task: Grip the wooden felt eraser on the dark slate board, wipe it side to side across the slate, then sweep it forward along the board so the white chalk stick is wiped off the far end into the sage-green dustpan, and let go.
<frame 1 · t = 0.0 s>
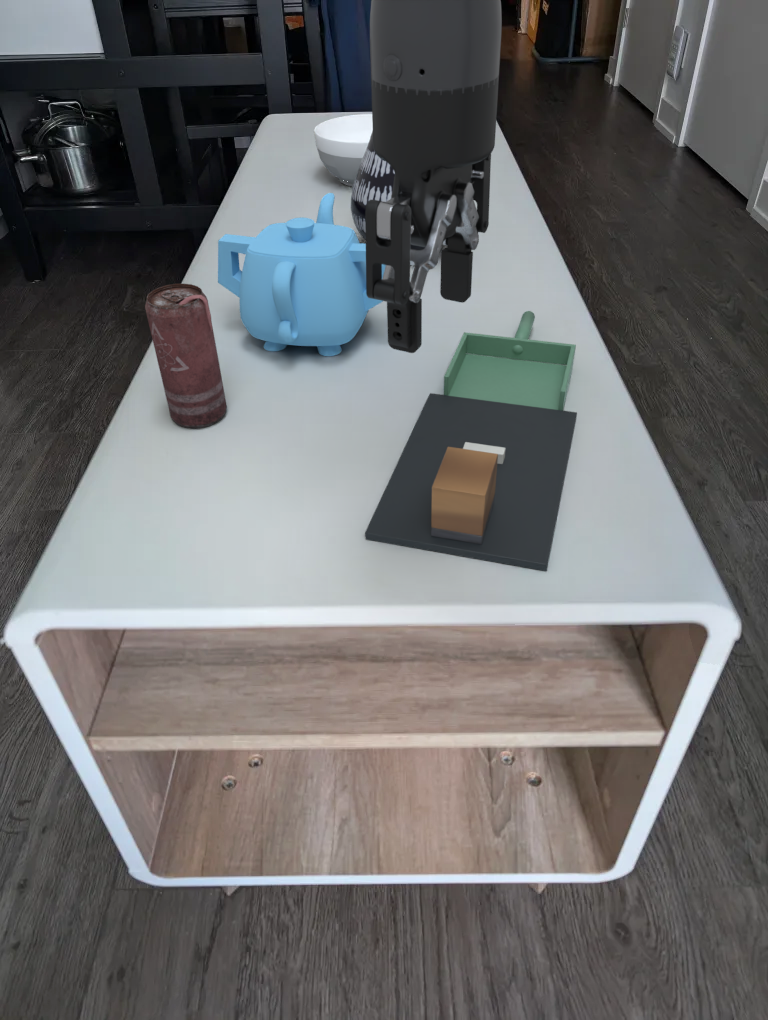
hand: (431, 322, 57), 21 cm above the table, tool pointing down, fingers open, 8 cm apart
vase: (405, 251, 121), on the table
eraser: (463, 518, 71), point 1 cm above the table, touching slate
teapot: (314, 330, 102), on the table
can: (201, 416, 87), on the table
dustpan: (509, 383, 90), on the table
bowl: (368, 179, 147), on the table
chalk: (483, 458, 78), point 1 cm above the table, touching slate
slate: (480, 473, 78), on the table
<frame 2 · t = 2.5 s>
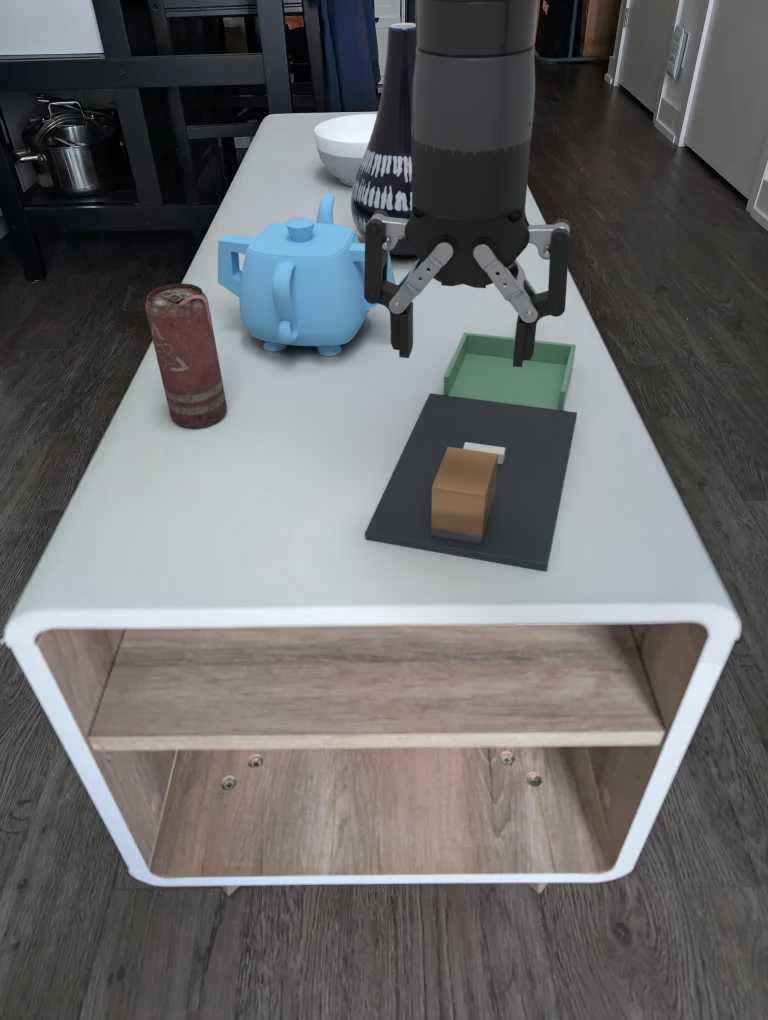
hand: (461, 357, 60), 17 cm above the table, tool pointing down, fingers open, 8 cm apart
nothing on the table moved.
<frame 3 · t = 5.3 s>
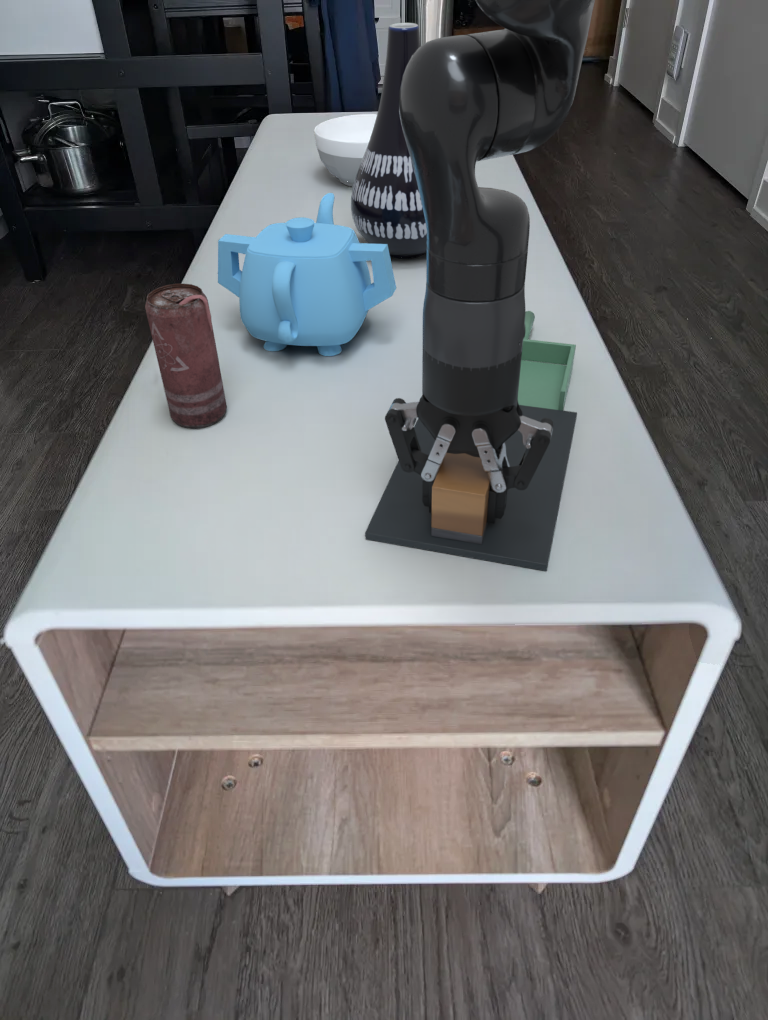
hand: (464, 511, 71), 2 cm above the table, tool pointing down, fingers closed on eraser, 4 cm apart
eraser: (463, 518, 71), point 1 cm above the table, touching gripper, slate
everything else where it was.
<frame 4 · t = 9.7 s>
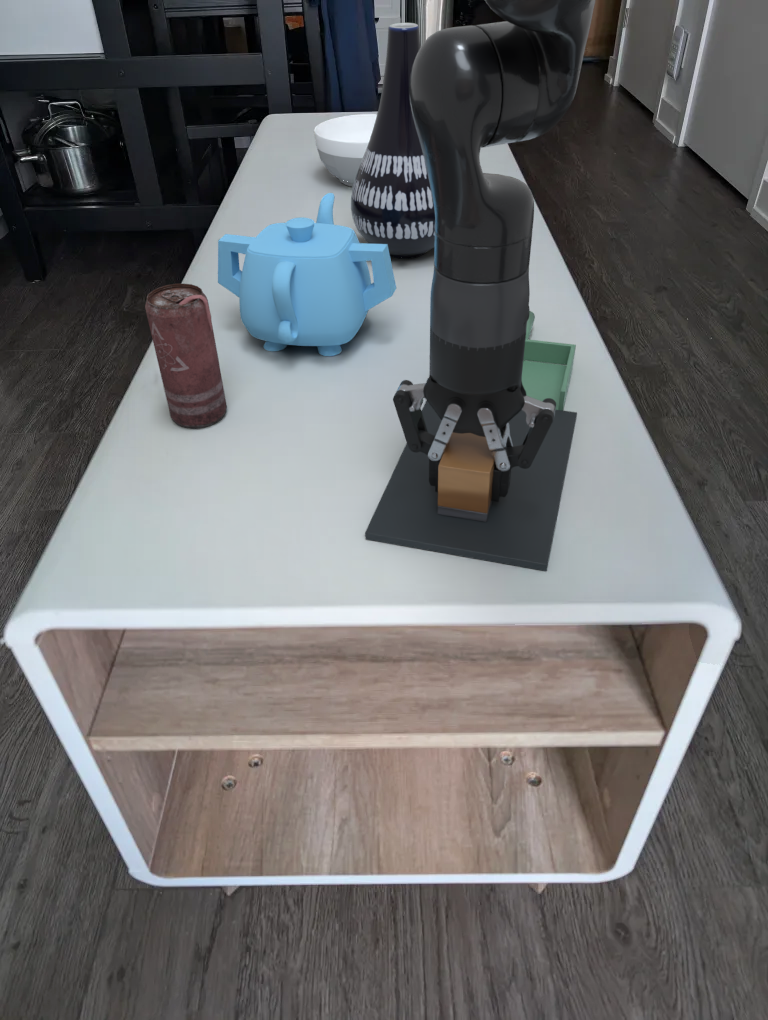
hand: (469, 491, 73), 2 cm above the table, tool pointing down, fingers closed on eraser, 4 cm apart
eraser: (468, 498, 73), point 1 cm above the table, touching gripper
everything else where it was.
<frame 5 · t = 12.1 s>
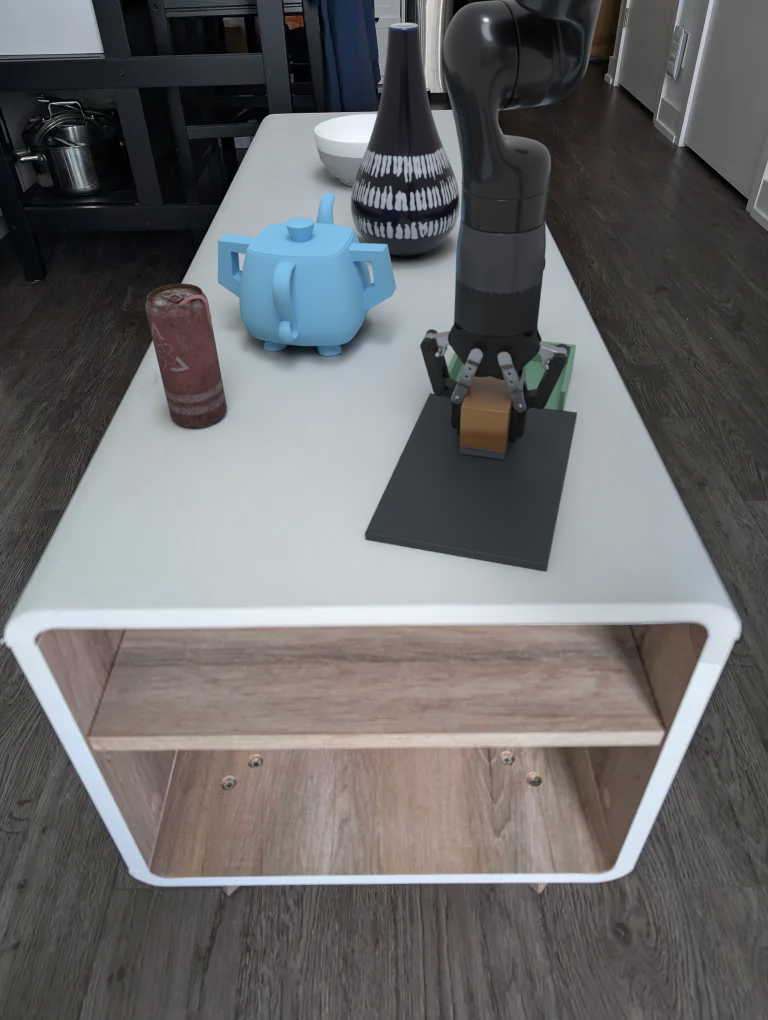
hand: (487, 433, 80), 2 cm above the table, tool pointing down, fingers closed on eraser, 4 cm apart
eraser: (487, 440, 80), point 1 cm above the table, touching gripper
chalk: (495, 421, 83), point 1 cm above the table
everything else where it was.
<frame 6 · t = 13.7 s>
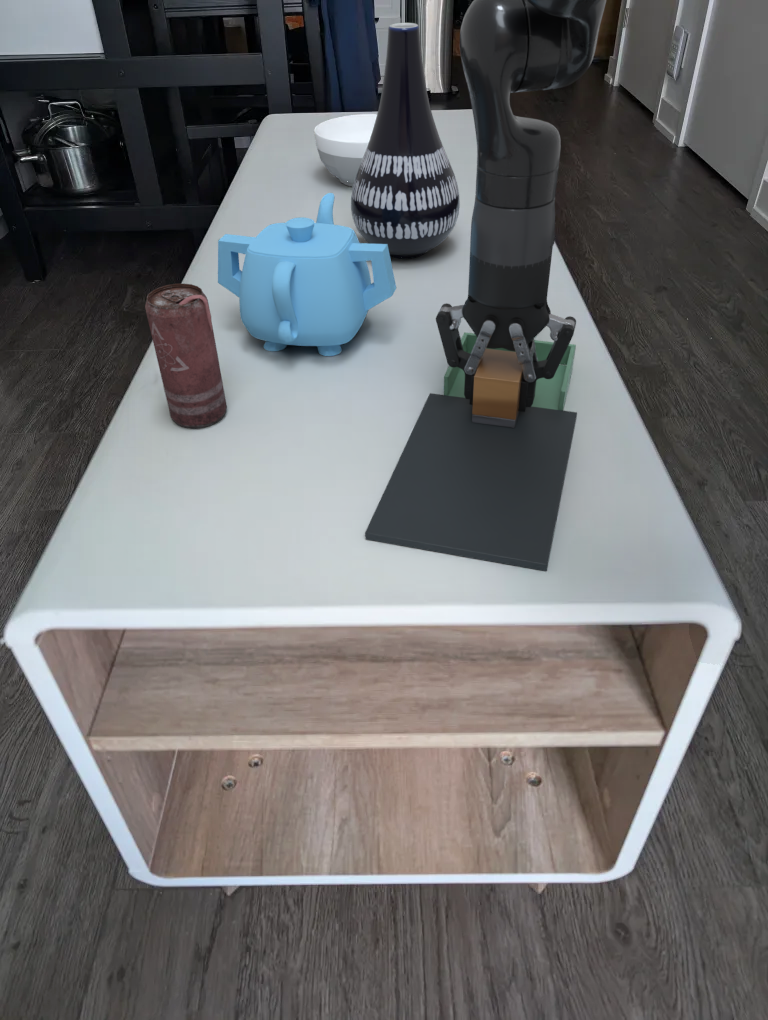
hand: (498, 403, 84), 2 cm above the table, tool pointing down, fingers closed on eraser, 4 cm apart
eraser: (498, 410, 85), point 1 cm above the table, touching chalk, gripper, slate
chalk: (504, 396, 87), resting on dustpan, touching eraser
everything else where it was.
when the fingers open (2 cm above the table, at t = 14.3 s): eraser stays where it is, resting on slate.
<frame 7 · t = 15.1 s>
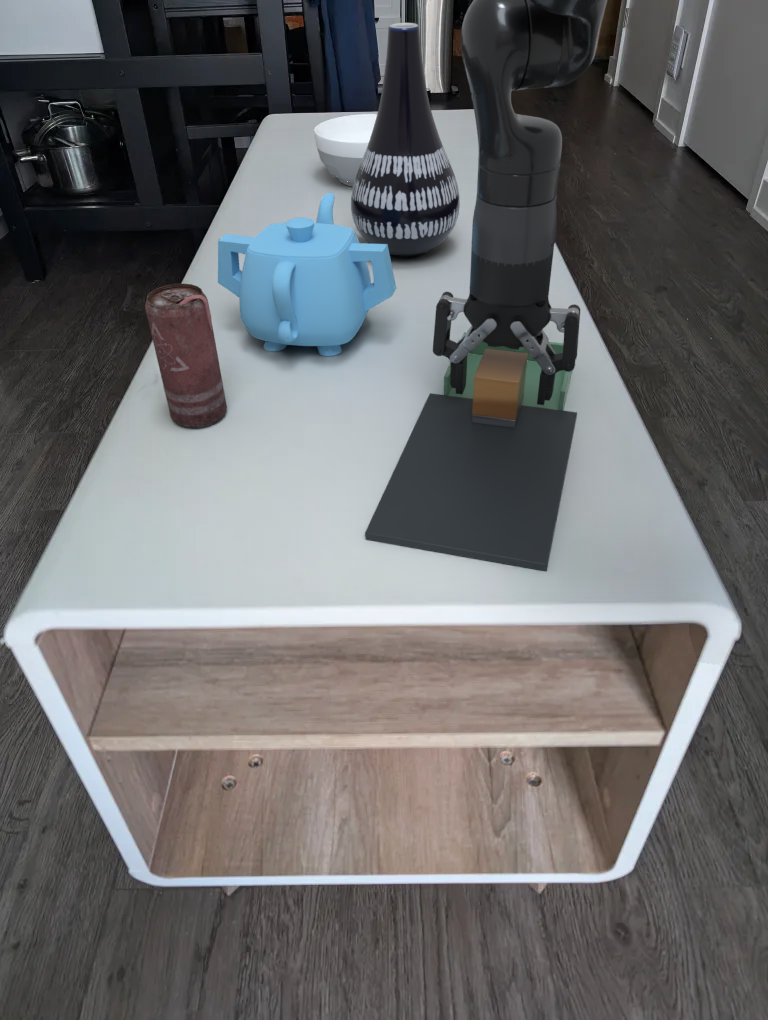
hand: (500, 395, 84), 3 cm above the table, tool pointing down, fingers open, 8 cm apart
eraser: (498, 410, 85), point 1 cm above the table, touching slate
chalk: (504, 396, 87), resting on dustpan
everything else where it was.
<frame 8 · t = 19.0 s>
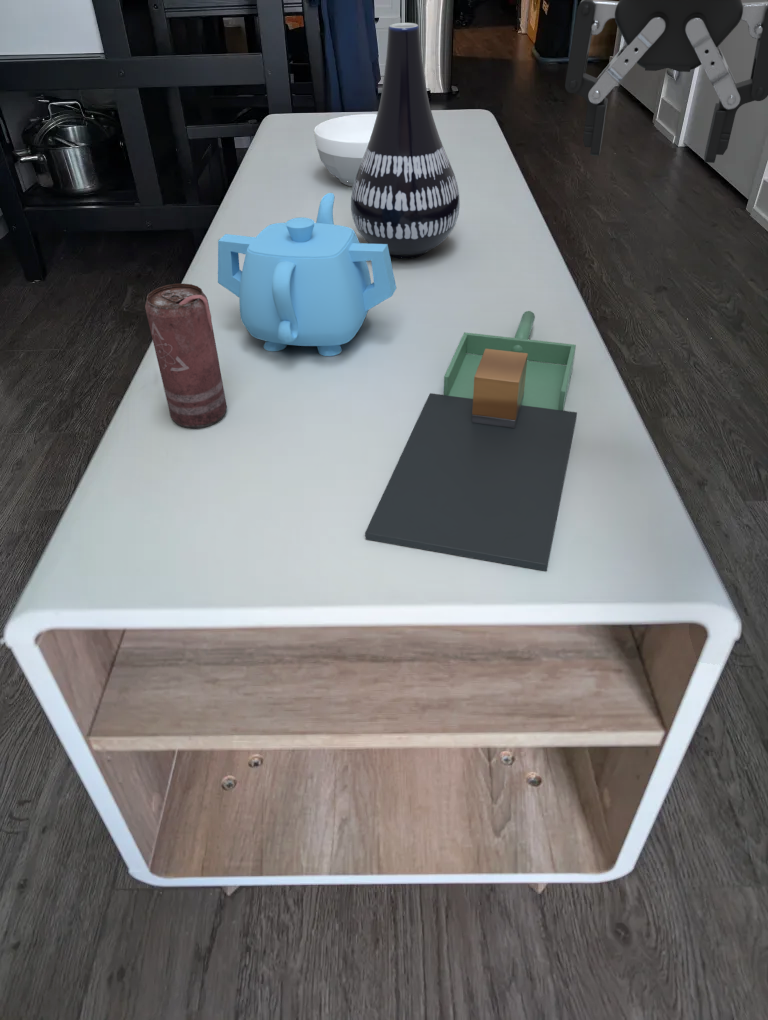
hand: (651, 156, 62), 28 cm above the table, tool pointing down, fingers open, 8 cm apart
nothing on the table moved.
at the end: chalk inside the target area in the dustpan (3.4 cm from its centre), point 0.4 cm above the dustpan's base; eraser point 0.8 cm above the table; eraser tilted 0° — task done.
